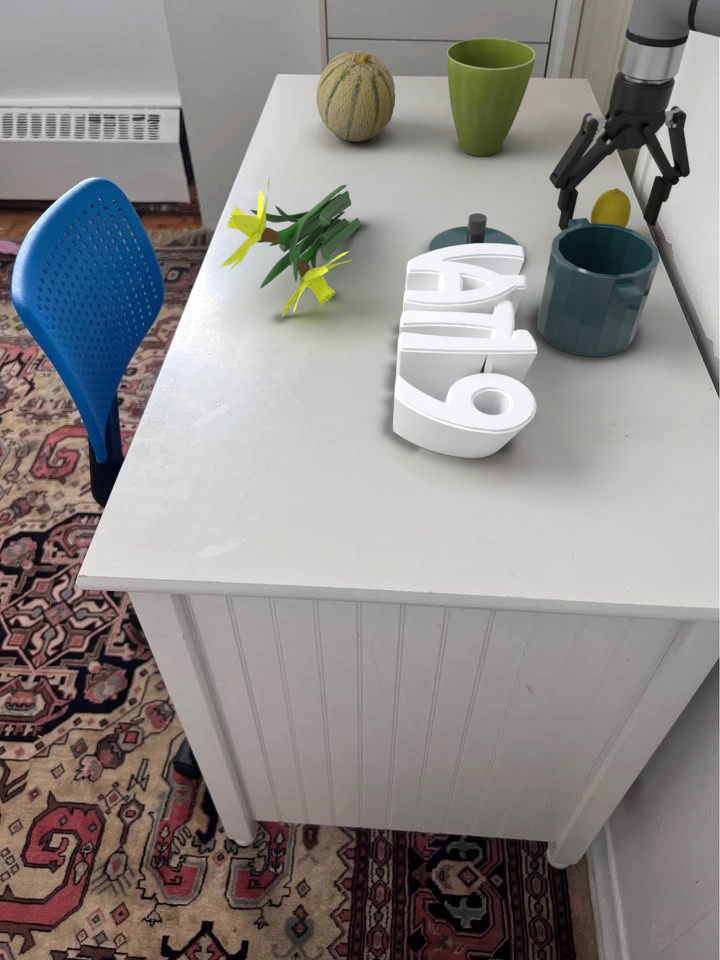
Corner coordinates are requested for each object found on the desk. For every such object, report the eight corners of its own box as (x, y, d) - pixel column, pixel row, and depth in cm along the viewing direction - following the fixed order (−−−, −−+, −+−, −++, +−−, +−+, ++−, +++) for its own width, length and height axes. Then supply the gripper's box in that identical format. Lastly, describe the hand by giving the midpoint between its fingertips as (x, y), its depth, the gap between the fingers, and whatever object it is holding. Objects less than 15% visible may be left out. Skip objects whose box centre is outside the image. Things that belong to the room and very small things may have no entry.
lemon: (626, 248, 109) (640, 197, 103) (589, 248, 109) (601, 198, 103) (618, 229, 113) (631, 179, 107) (582, 230, 113) (594, 180, 107)
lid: (504, 229, 113) (509, 191, 109) (531, 276, 104) (538, 236, 100) (419, 237, 112) (421, 199, 108) (439, 285, 103) (442, 246, 99)
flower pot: (534, 141, 135) (549, 46, 123) (502, 173, 126) (515, 74, 114) (461, 125, 140) (469, 32, 128) (426, 155, 132) (431, 58, 120)
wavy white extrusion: (408, 292, 102) (411, 223, 94) (526, 301, 100) (539, 231, 92) (373, 472, 79) (372, 400, 71) (525, 487, 77) (541, 416, 69)
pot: (604, 285, 102) (625, 208, 94) (658, 364, 90) (688, 284, 82) (519, 294, 101) (532, 218, 93) (562, 375, 89) (582, 296, 81)
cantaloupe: (334, 118, 143) (330, 33, 132) (404, 127, 140) (407, 40, 129) (306, 149, 134) (299, 60, 123) (380, 159, 131) (380, 69, 120)
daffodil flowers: (407, 238, 114) (344, 308, 85) (330, 276, 120) (249, 354, 92) (357, 133, 108) (272, 172, 79) (279, 180, 114) (175, 231, 86)
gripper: (722, 57, 97) (673, 206, 113) (544, 70, 95) (519, 220, 111) (750, 77, 92) (695, 230, 108) (563, 92, 90) (535, 246, 106)
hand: (606, 225), depth 109 cm, fingers open, 13 cm apart
